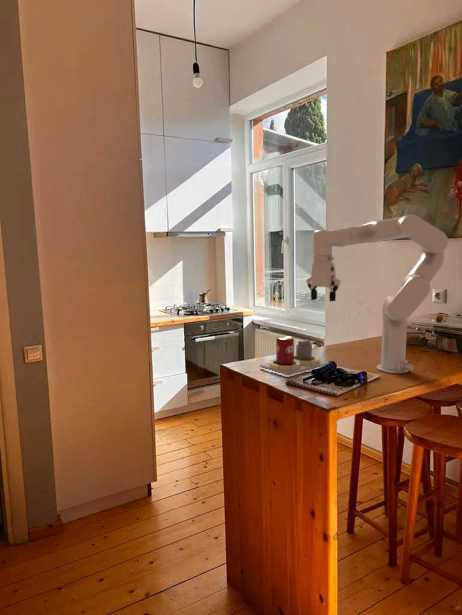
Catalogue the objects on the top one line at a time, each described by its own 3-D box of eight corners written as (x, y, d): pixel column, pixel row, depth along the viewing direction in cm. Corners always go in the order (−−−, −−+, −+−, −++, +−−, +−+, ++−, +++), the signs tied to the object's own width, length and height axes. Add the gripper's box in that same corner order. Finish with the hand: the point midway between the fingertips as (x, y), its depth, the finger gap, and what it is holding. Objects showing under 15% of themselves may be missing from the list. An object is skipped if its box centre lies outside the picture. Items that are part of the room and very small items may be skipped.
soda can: (273, 367, 189) (273, 338, 188) (279, 363, 196) (279, 335, 194) (290, 369, 186) (290, 340, 184) (295, 364, 193) (296, 336, 191)
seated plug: (314, 361, 198) (315, 341, 197) (304, 364, 194) (304, 343, 192) (303, 358, 203) (303, 338, 202) (293, 361, 199) (293, 340, 198)
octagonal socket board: (328, 367, 197) (328, 359, 196) (287, 377, 181) (287, 369, 180) (300, 359, 209) (300, 352, 208) (259, 369, 193) (260, 361, 193)
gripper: (345, 259, 187) (345, 300, 190) (312, 259, 200) (312, 298, 203) (334, 260, 182) (334, 302, 185) (300, 260, 196) (301, 299, 198)
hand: (323, 300), depth 194 cm, fingers open, 9 cm apart
